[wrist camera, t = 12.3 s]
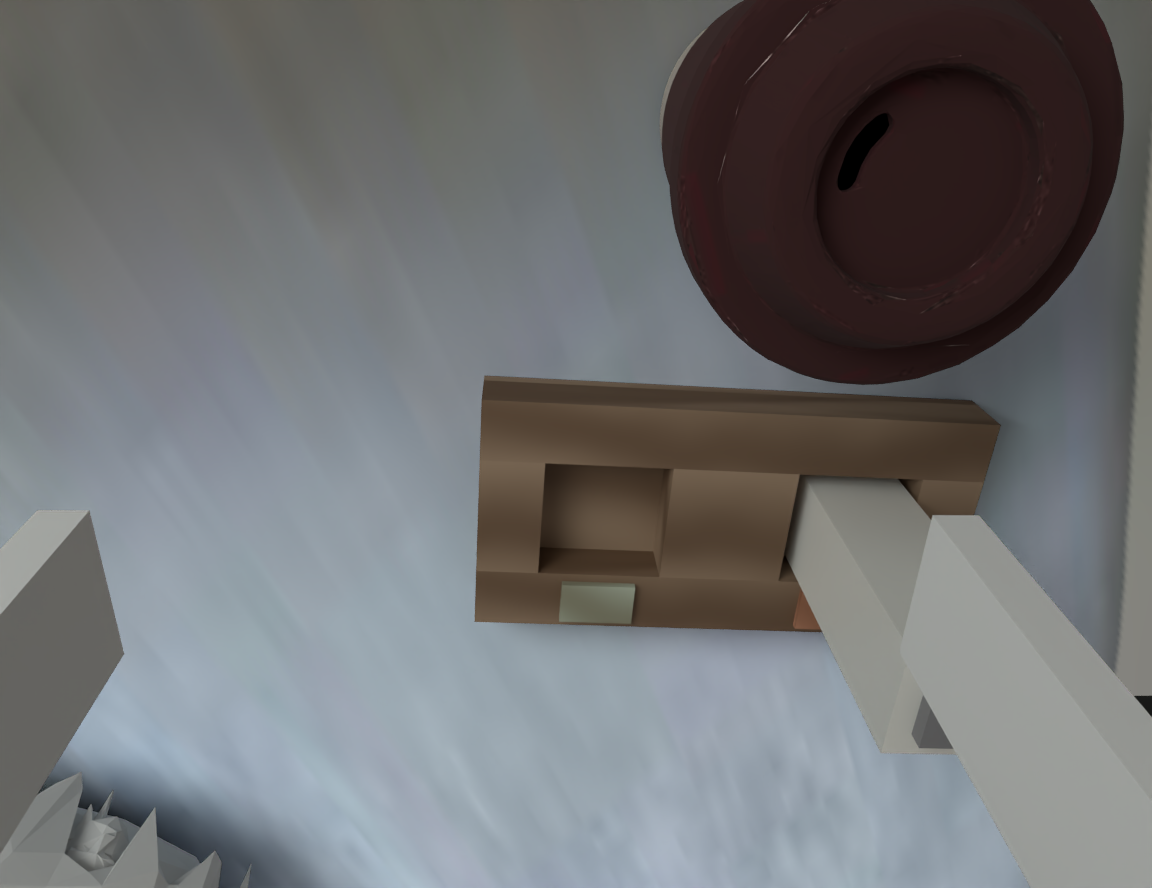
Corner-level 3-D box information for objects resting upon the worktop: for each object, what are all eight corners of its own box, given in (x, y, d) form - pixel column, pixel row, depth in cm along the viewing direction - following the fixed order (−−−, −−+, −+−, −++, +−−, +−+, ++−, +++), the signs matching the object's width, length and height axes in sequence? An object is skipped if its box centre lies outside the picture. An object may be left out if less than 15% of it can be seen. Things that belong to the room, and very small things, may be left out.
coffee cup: (935, 173, 33) (1219, 280, 20) (694, 302, 35) (801, 483, 21) (837, -103, 29) (1107, -209, 16) (569, 58, 31) (604, 88, 17)
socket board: (484, 375, 36) (481, 403, 33) (971, 400, 37) (1004, 428, 35) (477, 587, 40) (474, 626, 37) (915, 601, 41) (940, 639, 39)
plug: (799, 467, 37) (918, 663, 26) (892, 471, 38) (1050, 667, 26) (782, 550, 39) (887, 767, 28) (871, 553, 39) (1012, 769, 28)
